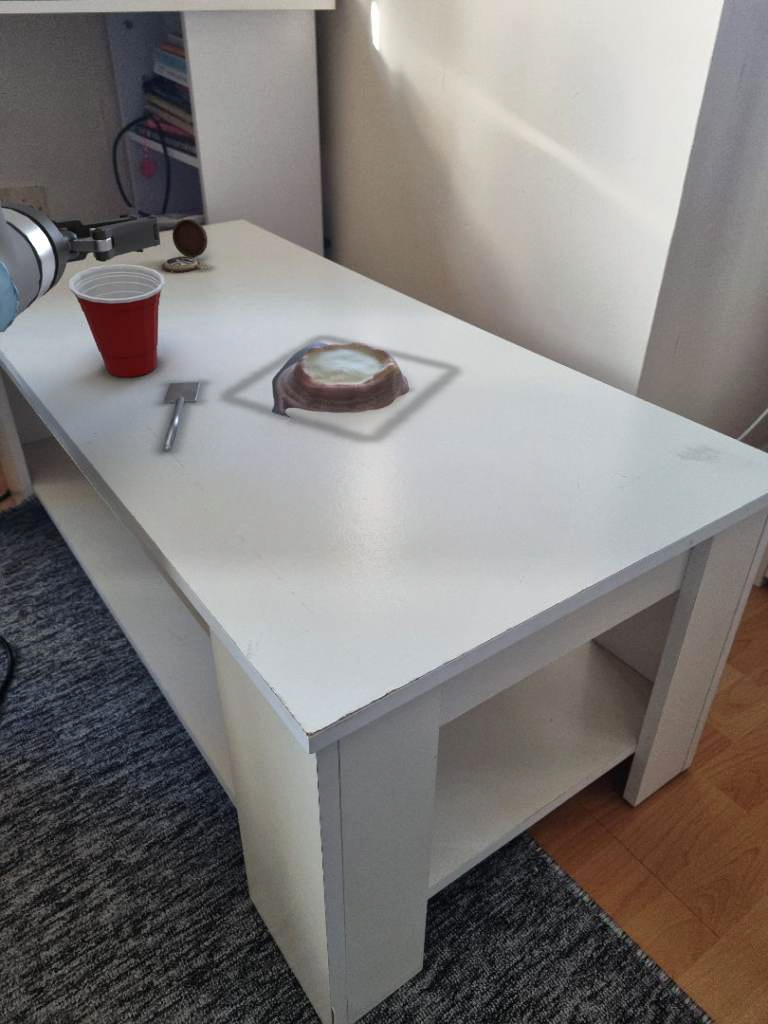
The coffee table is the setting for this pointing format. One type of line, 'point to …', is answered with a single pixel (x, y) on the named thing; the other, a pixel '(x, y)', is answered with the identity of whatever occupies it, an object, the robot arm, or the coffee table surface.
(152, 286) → the plastic cup
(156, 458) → the coffee table surface
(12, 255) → the robot arm
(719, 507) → the coffee table surface
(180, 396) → the metal spatula
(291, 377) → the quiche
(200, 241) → the compass
